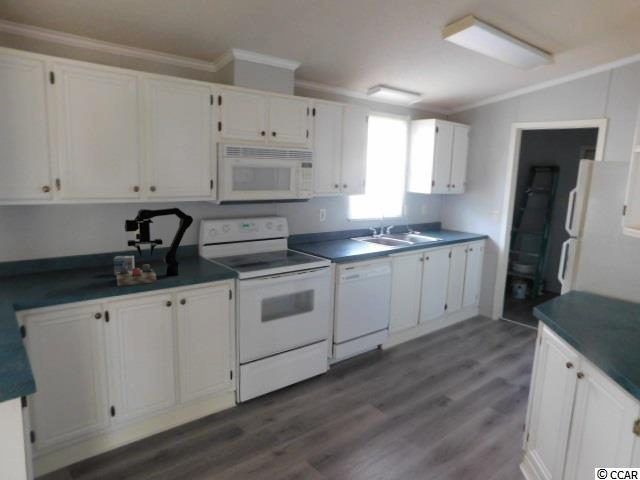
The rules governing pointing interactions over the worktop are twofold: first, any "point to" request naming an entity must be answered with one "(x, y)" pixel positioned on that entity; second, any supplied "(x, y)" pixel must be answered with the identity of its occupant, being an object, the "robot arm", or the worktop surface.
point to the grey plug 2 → (146, 268)
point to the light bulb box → (123, 263)
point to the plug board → (135, 278)
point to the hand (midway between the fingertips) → (145, 256)
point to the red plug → (136, 272)
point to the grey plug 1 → (123, 270)
